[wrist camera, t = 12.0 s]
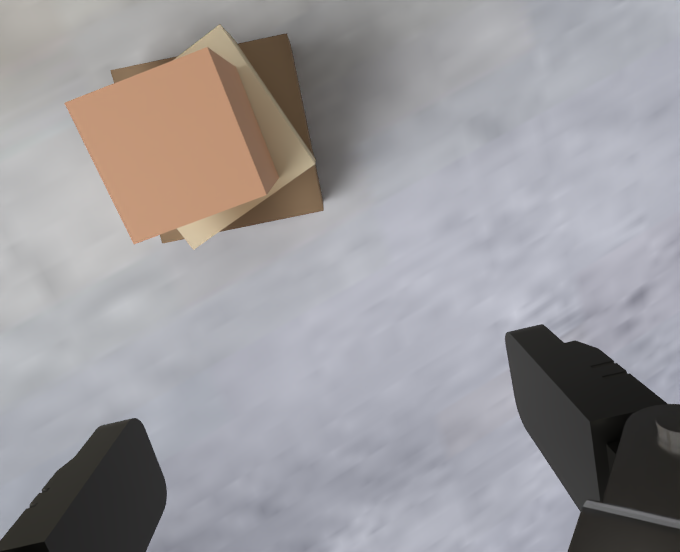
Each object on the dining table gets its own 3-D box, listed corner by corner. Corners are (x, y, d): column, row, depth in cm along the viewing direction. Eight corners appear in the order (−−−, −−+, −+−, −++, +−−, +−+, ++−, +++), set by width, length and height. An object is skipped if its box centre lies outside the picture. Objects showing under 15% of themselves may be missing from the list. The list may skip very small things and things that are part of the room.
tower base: (291, 46, 30) (286, 33, 26) (323, 201, 32) (323, 210, 28) (137, 78, 30) (110, 70, 26) (181, 229, 32) (162, 243, 28)
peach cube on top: (235, 66, 22) (207, 46, 16) (279, 177, 24) (266, 195, 18) (129, 108, 22) (64, 103, 17) (178, 215, 24) (134, 244, 18)
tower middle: (235, 40, 26) (219, 24, 22) (315, 159, 27) (315, 164, 24) (125, 123, 27) (92, 121, 23) (210, 233, 28) (193, 249, 24)
